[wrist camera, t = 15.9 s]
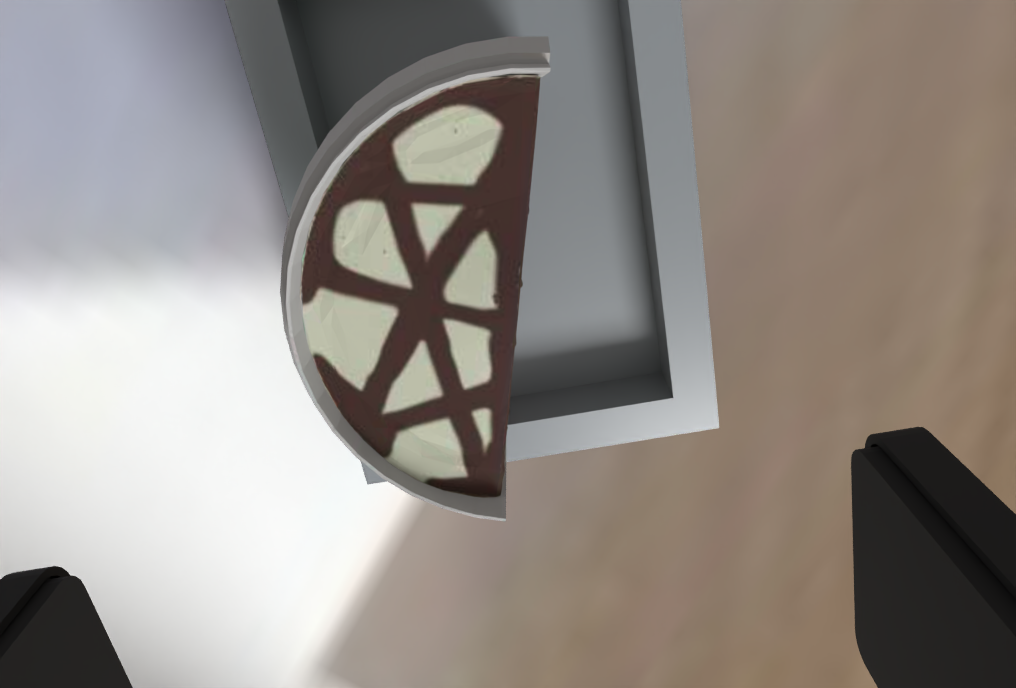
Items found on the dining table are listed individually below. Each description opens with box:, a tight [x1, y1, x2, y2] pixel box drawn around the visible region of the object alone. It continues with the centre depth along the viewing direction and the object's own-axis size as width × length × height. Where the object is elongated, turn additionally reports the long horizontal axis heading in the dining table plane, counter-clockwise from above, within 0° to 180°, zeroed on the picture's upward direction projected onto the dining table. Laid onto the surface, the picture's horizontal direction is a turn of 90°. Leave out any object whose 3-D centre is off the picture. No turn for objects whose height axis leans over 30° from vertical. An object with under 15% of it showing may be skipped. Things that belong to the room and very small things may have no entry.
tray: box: [224, 0, 719, 484], centre depth 27 cm, size 18×13×3 cm
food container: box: [280, 36, 551, 521], centre depth 23 cm, size 12×6×10 cm, turn 175°
